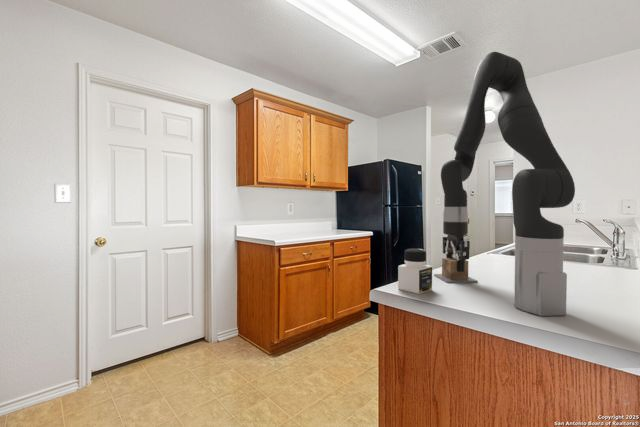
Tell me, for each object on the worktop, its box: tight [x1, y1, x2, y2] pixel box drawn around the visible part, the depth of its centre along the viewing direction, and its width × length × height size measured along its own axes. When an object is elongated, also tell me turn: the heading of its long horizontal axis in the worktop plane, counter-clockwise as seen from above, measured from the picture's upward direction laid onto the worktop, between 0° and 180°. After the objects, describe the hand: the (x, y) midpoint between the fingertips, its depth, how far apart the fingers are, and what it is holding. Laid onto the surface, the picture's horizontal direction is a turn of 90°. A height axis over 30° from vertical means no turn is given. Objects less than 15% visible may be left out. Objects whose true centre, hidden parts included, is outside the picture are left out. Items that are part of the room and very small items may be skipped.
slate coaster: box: [433, 273, 479, 284], centre depth 101 cm, size 10×10×1 cm
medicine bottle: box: [397, 248, 433, 295], centre depth 88 cm, size 7×7×12 cm
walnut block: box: [441, 257, 469, 280], centre depth 101 cm, size 6×6×6 cm
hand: (454, 269), depth 101 cm, fingers open, 7 cm apart
